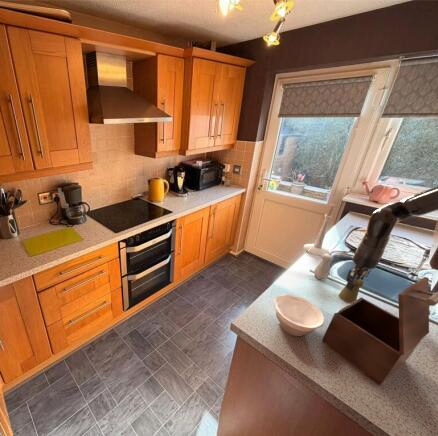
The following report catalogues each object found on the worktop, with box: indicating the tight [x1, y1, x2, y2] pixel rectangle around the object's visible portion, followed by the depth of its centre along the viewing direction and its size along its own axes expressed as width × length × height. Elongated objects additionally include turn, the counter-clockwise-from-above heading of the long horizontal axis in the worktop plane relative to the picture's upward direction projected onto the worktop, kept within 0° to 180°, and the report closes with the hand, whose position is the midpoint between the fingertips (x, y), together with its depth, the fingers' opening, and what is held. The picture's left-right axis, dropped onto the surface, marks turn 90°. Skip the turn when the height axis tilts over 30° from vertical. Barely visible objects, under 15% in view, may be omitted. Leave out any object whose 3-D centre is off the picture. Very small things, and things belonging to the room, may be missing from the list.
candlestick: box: [303, 203, 336, 257], centre depth 131 cm, size 13×13×30 cm
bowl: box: [273, 294, 325, 337], centre depth 87 cm, size 16×16×9 cm
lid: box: [397, 276, 438, 355], centre depth 63 cm, size 17×17×5 cm
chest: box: [321, 297, 423, 386], centre depth 76 cm, size 17×17×14 cm
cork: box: [338, 279, 364, 304], centre depth 99 cm, size 6×6×11 cm
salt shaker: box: [313, 254, 334, 280], centre depth 112 cm, size 6×6×13 cm
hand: (352, 286), depth 99 cm, fingers closed on cork, 5 cm apart
